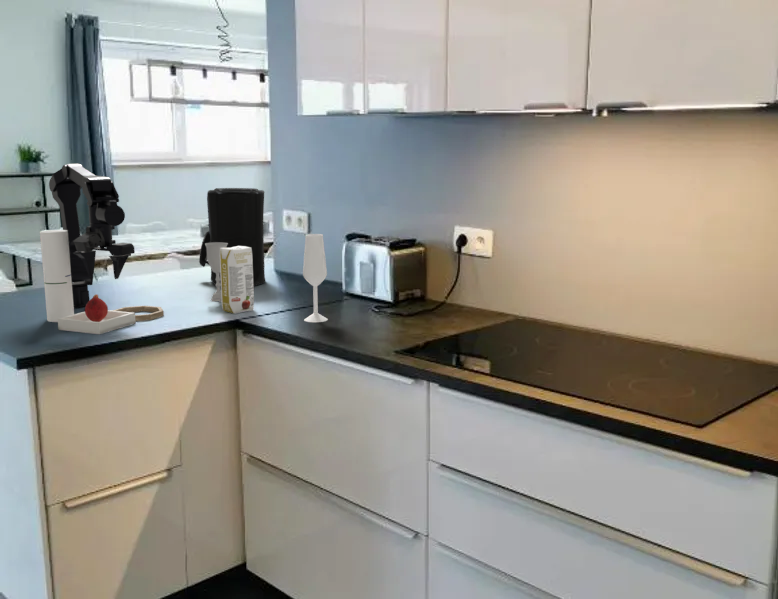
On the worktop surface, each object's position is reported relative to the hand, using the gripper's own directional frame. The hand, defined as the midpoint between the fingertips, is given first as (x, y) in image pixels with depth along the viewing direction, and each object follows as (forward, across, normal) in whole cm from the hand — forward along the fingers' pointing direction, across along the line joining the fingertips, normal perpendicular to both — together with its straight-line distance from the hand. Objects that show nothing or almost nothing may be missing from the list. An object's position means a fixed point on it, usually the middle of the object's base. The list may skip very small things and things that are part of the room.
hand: (103, 277), depth 226 cm
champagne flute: (+11, +57, +21) cm, 61 cm away
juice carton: (+11, +30, +22) cm, 39 cm away
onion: (+11, +6, -10) cm, 16 cm away
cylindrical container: (+12, -10, -7) cm, 17 cm away
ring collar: (+11, +7, +5) cm, 14 cm away
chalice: (+12, +15, +34) cm, 39 cm away
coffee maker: (+12, 0, +62) cm, 63 cm away
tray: (+11, +6, -10) cm, 17 cm away
